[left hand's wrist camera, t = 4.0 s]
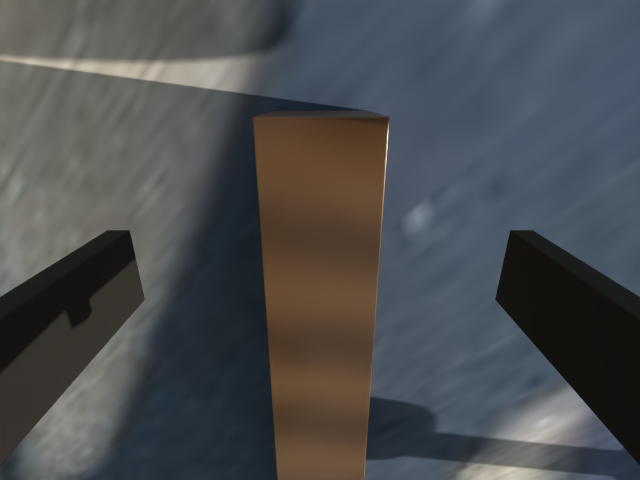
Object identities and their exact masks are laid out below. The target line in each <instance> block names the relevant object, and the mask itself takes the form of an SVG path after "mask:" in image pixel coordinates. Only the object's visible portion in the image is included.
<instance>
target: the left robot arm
mask: <svg viewBox="0 0 640 480" xmlns="http://www.w3.org/2000/svg"><path fill="white" fill-rule="evenodd" d="M144 300H145V299H144V295H143V290H142V285H141V281H140V276H139V271H138V267H137V262H136V258H135V253H134V248H133V244H132V239H131V235H130V230H107V231H106V232H104V233H103V234H101V235H99V236H98V237H96V238H95V239H93V240H91V241H90V242H88V243H86V244H85V245H83V246H82V247H80V248H78V249H77V250H75V251H74V252H72V253H70V254H69V255H67V256H66V257H64V258H62V259H61V260H59V261H58V262H56V263H54V264H53V265H51V266H49V267H48V268H46V269H45V270H43V271H41V272H40V273H38V274H37V275H35V276H33V277H32V278H30V279H29V280H27V281H25V282H24V283H22V284H21V285H19V286H17V287H16V288H14V289H13V290H11V291H9V292H8V293H6V294H4V295H3V296H1V297H0V465H1V464H2V463H3V462H4V460H5V459H6V458H7V457H8V456H9V455H10V453H11V452H12V451H13V450H14V449H15V448H16V447H17V445H18V444H19V443H20V442H21V441H22V440H23V439H24V437H25V436H26V435H27V434H28V433H29V432H30V431H31V429H32V428H33V427H34V426H35V425H36V424H37V422H38V421H39V420H40V419H41V418H42V417H43V416H44V414H45V413H46V412H47V411H48V410H49V409H50V408H51V406H52V405H53V404H54V403H55V402H56V401H57V400H58V398H59V397H60V396H61V395H62V394H63V393H64V391H65V390H66V389H67V388H68V387H69V386H70V385H71V383H72V382H73V381H74V380H75V379H76V378H77V377H78V375H79V374H80V373H81V372H82V371H83V370H84V369H85V367H86V366H87V365H88V364H89V363H90V362H91V360H92V359H93V358H94V357H95V356H96V355H97V354H98V352H99V351H100V350H101V349H102V348H103V347H104V346H105V344H106V343H107V342H108V341H109V340H110V339H111V338H112V336H113V335H114V334H115V333H116V332H117V331H118V330H119V328H120V327H121V326H122V325H123V324H124V323H125V321H126V320H127V319H128V318H129V317H130V316H131V315H132V313H133V312H134V311H135V310H136V309H137V308H138V307H139V305H140V304H141V303H142V302H143V301H144ZM495 300H496V301H497V302H498V303H499V304H500V305H501V307H502V308H503V309H504V310H505V311H506V312H507V313H508V315H509V316H510V317H511V318H512V319H513V320H514V321H515V323H516V324H517V325H518V326H519V327H520V328H521V330H522V331H523V332H524V333H525V334H526V335H527V336H528V338H529V339H530V340H531V341H532V342H533V343H534V344H535V346H536V347H537V348H538V349H539V350H540V351H541V352H542V354H543V355H544V356H545V357H546V358H547V359H548V360H549V362H550V363H551V364H552V365H553V366H554V367H555V369H556V370H557V371H558V372H559V373H560V374H561V375H562V377H563V378H564V379H565V380H566V381H567V382H568V383H569V385H570V386H571V387H572V388H573V389H574V390H575V391H576V393H577V394H578V395H579V396H580V397H581V398H582V400H583V401H584V402H585V403H586V404H587V405H588V406H589V408H590V409H591V410H592V411H593V412H594V413H595V414H596V416H597V417H598V418H599V419H600V420H601V421H602V422H603V424H604V425H605V426H606V427H607V428H608V429H609V431H610V432H611V433H612V434H613V435H614V436H615V437H616V439H617V440H618V441H619V442H620V443H621V444H622V445H623V447H624V448H625V449H626V450H627V451H628V452H629V453H630V455H631V456H632V457H633V458H634V459H635V460H636V462H637V463H638V464H639V465H640V297H639V296H637V295H636V294H634V293H632V292H631V291H629V290H627V289H626V288H624V287H623V286H621V285H619V284H618V283H616V282H615V281H613V280H611V279H610V278H608V277H607V276H605V275H603V274H602V273H600V272H599V271H597V270H595V269H594V268H592V267H590V266H589V265H587V264H586V263H584V262H582V261H581V260H579V259H578V258H576V257H574V256H573V255H571V254H570V253H568V252H566V251H565V250H563V249H562V248H560V247H558V246H557V245H555V244H554V243H552V242H550V241H549V240H547V239H545V238H544V237H542V236H541V235H539V234H537V233H536V232H534V231H533V230H510V235H509V239H508V244H507V248H506V253H505V258H504V262H503V267H502V271H501V276H500V281H499V285H498V290H497V295H496V299H495Z"/></svg>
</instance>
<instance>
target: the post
mask: <svg viewBox="0 0 640 480" xmlns="http://www.w3.org/2000/svg"><path fill="white" fill-rule="evenodd" d="M253 129H254V143H255V158H256V173H257V188H258V202H259V217H260V232H261V247H262V261H263V276H264V291H265V305H266V320H267V335H268V350H269V364H270V379H271V394H272V409H273V423H274V438H275V453H276V468H277V480H364V474H365V459H366V445H367V431H368V416H369V402H370V388H371V374H372V359H373V345H374V331H375V317H376V302H377V288H378V274H379V259H380V245H381V231H382V217H383V202H384V188H385V174H386V160H387V145H388V131H389V117H388V116H385V115H381V114H377V113H374V112H370V111H366V110H275V111H272V112H268V113H265V114H261V115H257V116H254V117H253Z"/></svg>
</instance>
